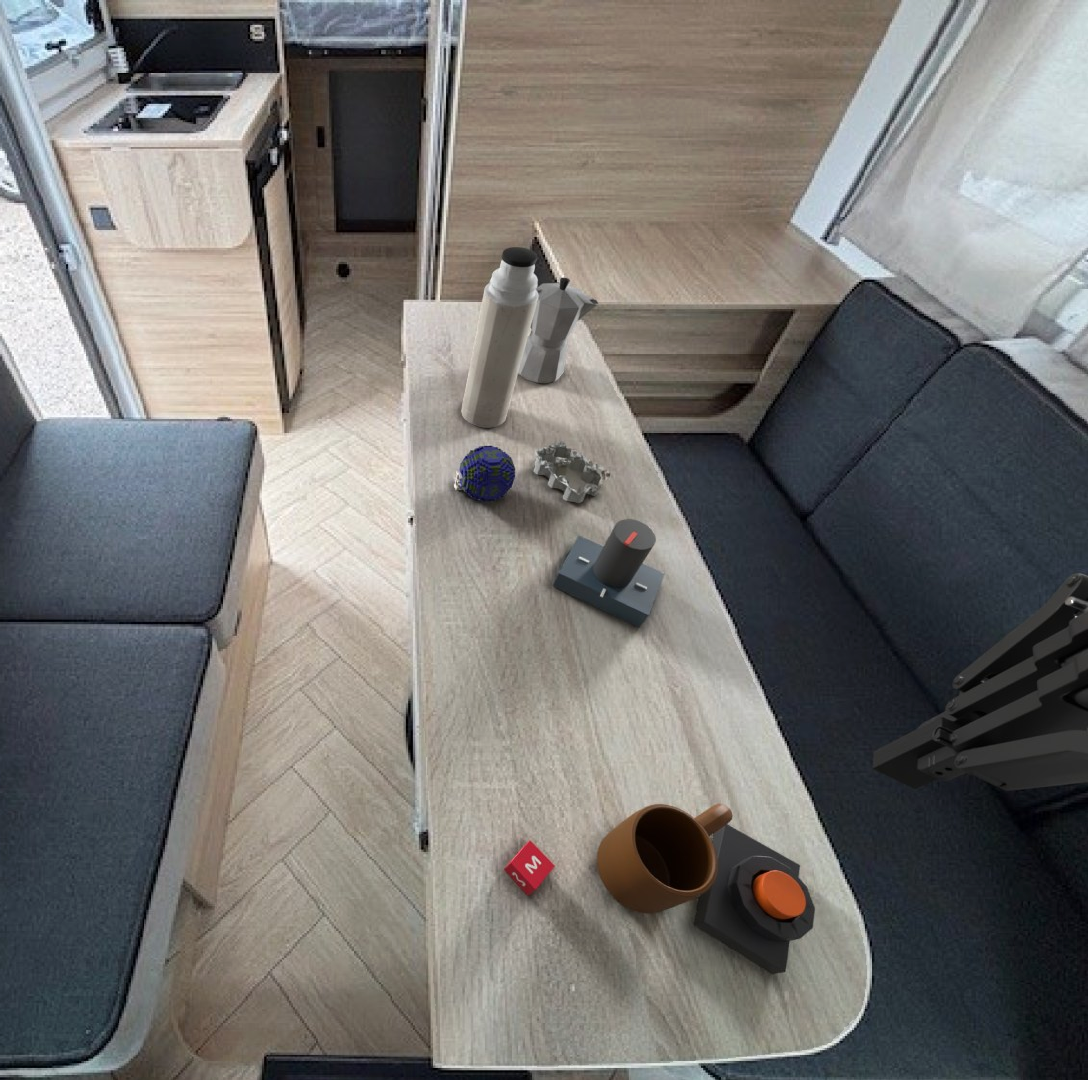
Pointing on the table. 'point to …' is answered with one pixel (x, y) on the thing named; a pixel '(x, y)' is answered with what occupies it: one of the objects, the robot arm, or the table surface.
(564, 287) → the coffeepot
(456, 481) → the ball
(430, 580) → the table surface
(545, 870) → the dice
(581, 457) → the grey jagged hollow block
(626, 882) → the mug
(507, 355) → the thermos bottle
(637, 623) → the dial panel
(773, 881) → the round orange button
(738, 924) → the push button switch
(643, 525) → the temp dial
